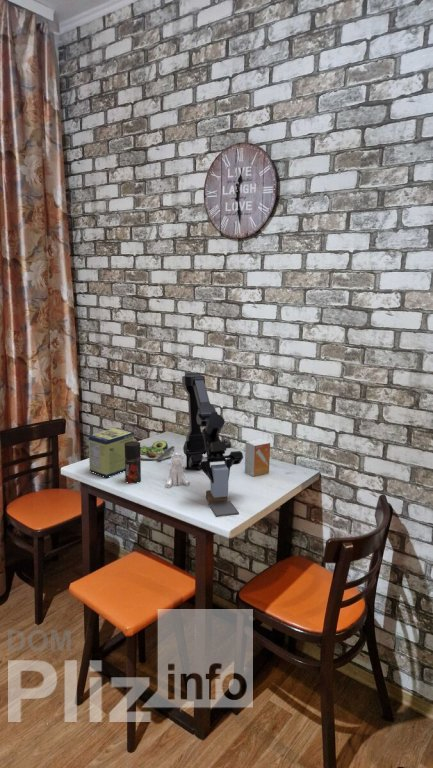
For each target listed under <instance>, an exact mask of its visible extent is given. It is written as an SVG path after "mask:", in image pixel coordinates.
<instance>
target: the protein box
mask: <svg viewBox="0 0 433 768" xmlns="http://www.w3.org/2000/svg"><path fill="white" fill-rule="evenodd" d="M130 441H135V432H134V431H131V430H127V429H124V428H120V427H113V428H110V429H107V430H104V431H100V432H97V433H94V434H89V436H88V452H89V453H88V455H89V456H88V458H89V460H88V461H89V462H88V463H89V472H90V471H91V472H94V473H96V474H99V475H101V476H100V477H102V476H104V477H103V478H105V477H109V476H112V475H114V476H116V475H115V474H117V475H119V474H121V473H120V472H122V473H124V472H123V471H125V443H126V442H130ZM118 473H119V474H118ZM96 474H95V475H96ZM99 475H98V476H99ZM112 477H113V476H112ZM109 478H110V477H109Z"/></svg>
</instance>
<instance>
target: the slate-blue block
mask: <svg viewBox="0 0 433 768" xmlns="http://www.w3.org/2000/svg"><path fill="white" fill-rule="evenodd" d="M210 467H211V471H212V475H213V480H214V483H212V482H211V481H210V487H209V490H210V492H211V494H212V495H213V497H214V498H217V497H226V496H228V497H229V481H228V476H229V477H230V473H229V469H228V468H227V467H226V465H225V463H221V464H220V463H219V464H210Z"/></svg>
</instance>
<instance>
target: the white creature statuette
mask: <svg viewBox="0 0 433 768" xmlns="http://www.w3.org/2000/svg"><path fill="white" fill-rule="evenodd" d="M185 457H186V455H185V454H183V455H182V453H180V452H176V453H173V455H170V457H169V458H171V462H172V463H171V464H172V465H171V466H170V470H169V474H168V479H167V480H166V482H165V486H164V487H165V488H166V489H170V488H171V487H177V486H178V487H180V486H182V487H183V486H185V487H187V488H188V487H189V488H190V486H191V481H190V480H189V479H188V478H187V477H186V476H185V475H184V473H183V472H184V470H183V467H182V464H183V463H184V458H185ZM167 487H168V488H167Z"/></svg>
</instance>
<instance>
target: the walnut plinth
mask: <svg viewBox="0 0 433 768" xmlns="http://www.w3.org/2000/svg"><path fill="white" fill-rule="evenodd" d="M228 498H229V495H228V496H226V497H217V498H214V497H213V495H212V494H211V492H210V489H207V490H205V500H206V502H208V503H211V502H220V501H229V499H228ZM208 503H207V504H208Z"/></svg>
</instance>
